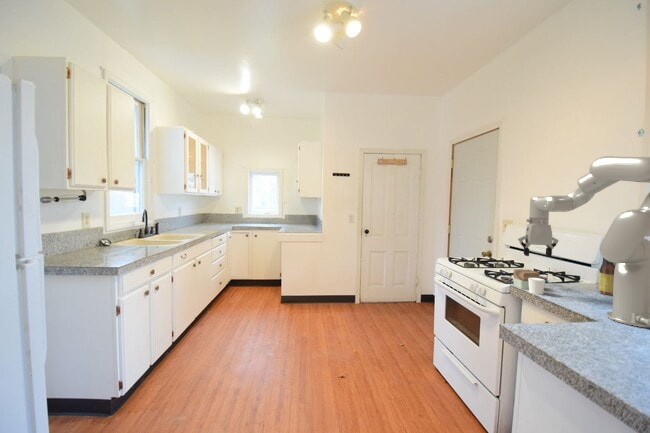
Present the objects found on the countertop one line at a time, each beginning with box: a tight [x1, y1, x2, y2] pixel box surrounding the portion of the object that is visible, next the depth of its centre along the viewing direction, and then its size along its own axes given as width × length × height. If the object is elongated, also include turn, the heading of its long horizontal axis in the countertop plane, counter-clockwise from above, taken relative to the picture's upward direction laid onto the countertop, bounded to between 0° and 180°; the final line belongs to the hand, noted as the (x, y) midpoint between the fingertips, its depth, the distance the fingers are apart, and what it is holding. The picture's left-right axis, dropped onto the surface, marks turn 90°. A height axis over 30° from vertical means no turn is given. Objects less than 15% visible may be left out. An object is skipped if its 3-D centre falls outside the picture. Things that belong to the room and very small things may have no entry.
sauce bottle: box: [598, 257, 616, 297], centre depth 136 cm, size 7×6×20 cm
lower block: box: [513, 277, 529, 290], centre depth 147 cm, size 8×8×4 cm
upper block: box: [513, 268, 541, 281], centre depth 147 cm, size 8×8×4 cm
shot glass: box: [528, 277, 546, 296], centre depth 137 cm, size 7×7×7 cm
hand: (537, 256), depth 137 cm, fingers open, 9 cm apart
